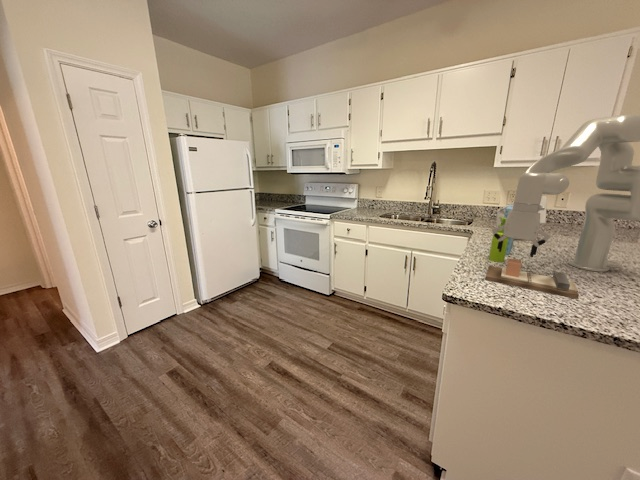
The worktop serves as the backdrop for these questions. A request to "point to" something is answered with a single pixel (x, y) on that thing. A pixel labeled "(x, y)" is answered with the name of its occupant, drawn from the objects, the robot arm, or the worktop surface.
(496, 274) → the ticket board
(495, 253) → the soap dispenser
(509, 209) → the light blue box
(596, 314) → the worktop surface
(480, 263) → the worktop surface
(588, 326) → the worktop surface
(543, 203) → the white box
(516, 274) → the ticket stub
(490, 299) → the worktop surface
